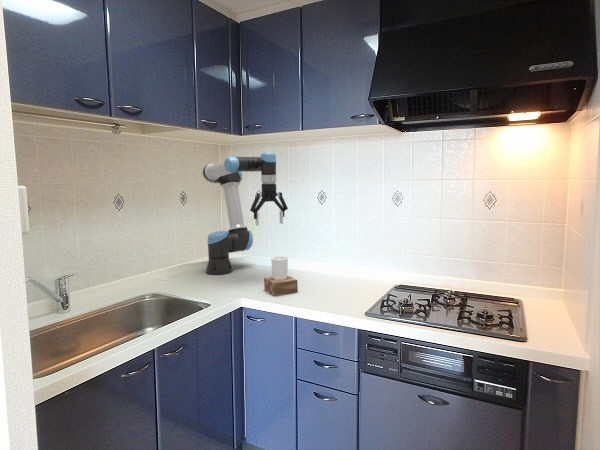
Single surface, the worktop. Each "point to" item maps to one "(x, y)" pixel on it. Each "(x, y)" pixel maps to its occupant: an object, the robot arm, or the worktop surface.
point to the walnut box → (280, 286)
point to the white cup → (279, 267)
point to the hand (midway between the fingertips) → (269, 224)
